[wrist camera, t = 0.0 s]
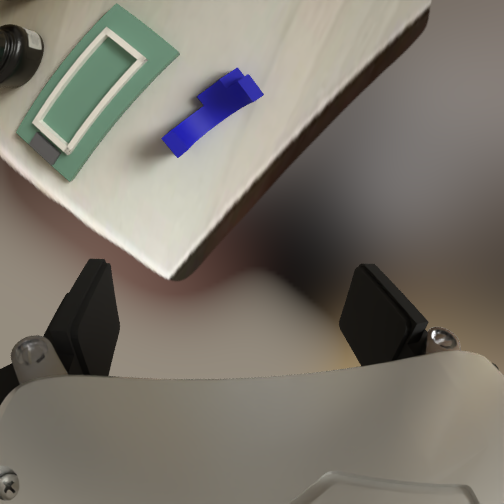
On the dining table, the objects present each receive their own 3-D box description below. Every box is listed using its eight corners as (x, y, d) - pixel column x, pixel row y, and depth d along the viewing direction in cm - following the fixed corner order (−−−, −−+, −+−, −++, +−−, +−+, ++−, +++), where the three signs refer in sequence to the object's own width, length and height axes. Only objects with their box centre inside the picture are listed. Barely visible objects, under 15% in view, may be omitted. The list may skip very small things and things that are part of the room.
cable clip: (234, 70, 34) (240, 63, 29) (255, 96, 36) (264, 94, 31) (160, 125, 36) (152, 128, 30) (181, 151, 38) (177, 158, 32)
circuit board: (119, 6, 27) (114, 0, 24) (179, 54, 32) (178, 50, 29) (21, 131, 31) (11, 133, 29) (73, 179, 36) (66, 184, 34)
